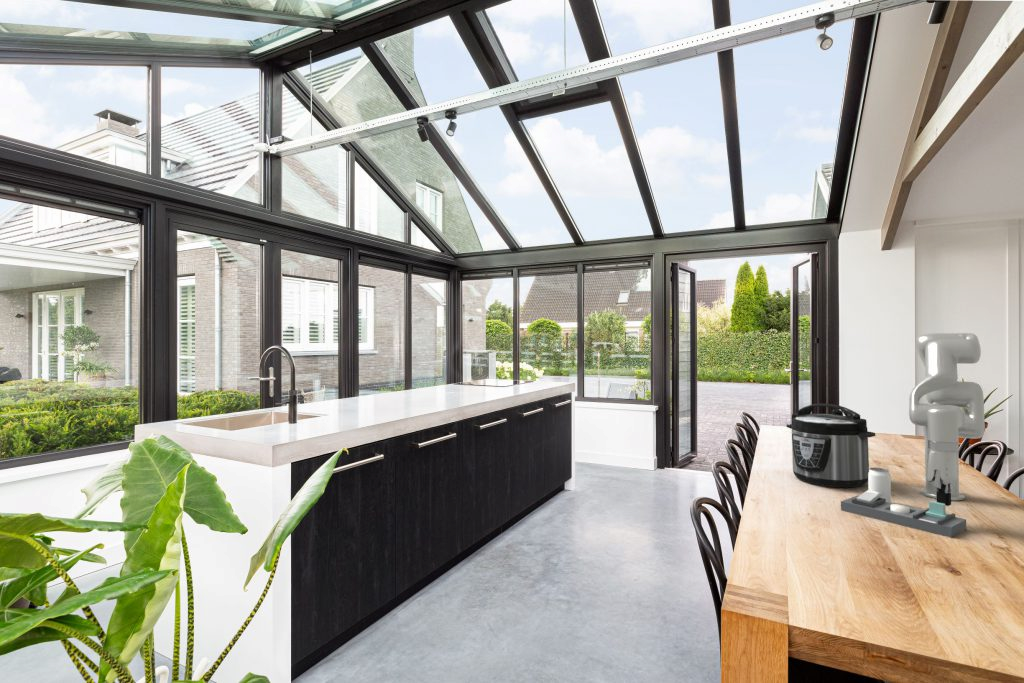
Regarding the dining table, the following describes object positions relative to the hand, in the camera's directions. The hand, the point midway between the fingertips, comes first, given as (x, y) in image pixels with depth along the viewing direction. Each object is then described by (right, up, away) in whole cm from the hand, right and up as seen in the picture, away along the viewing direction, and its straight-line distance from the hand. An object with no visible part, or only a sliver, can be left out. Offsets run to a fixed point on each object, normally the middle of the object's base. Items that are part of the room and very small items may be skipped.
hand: (943, 504), depth 163 cm
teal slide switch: (-4, -3, -3) cm, 6 cm away
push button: (-11, -6, +4) cm, 13 cm away
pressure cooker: (-6, -6, +49) cm, 50 cm away
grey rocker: (-16, -1, +11) cm, 20 cm away
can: (-6, -6, +20) cm, 22 cm away
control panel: (-11, -6, +4) cm, 13 cm away
